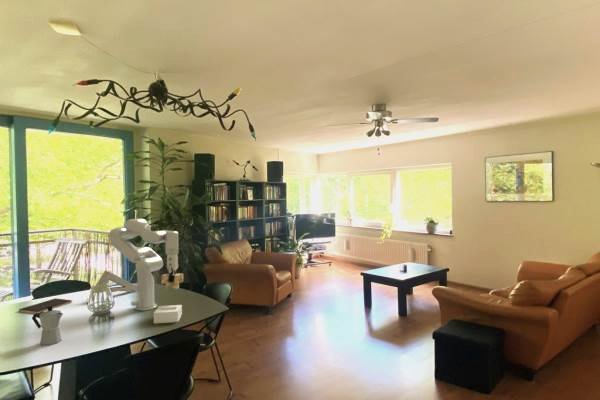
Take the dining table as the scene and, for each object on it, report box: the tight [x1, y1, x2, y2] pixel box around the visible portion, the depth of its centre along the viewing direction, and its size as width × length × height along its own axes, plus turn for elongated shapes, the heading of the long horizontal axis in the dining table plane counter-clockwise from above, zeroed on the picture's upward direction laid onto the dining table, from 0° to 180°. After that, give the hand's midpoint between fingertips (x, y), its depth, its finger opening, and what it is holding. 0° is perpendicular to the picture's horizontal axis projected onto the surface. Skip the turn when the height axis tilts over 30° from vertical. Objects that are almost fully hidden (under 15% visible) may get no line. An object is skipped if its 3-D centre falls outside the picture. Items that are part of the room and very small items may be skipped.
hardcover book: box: [18, 297, 73, 315], centre depth 226 cm, size 16×23×2 cm
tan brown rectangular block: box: [160, 273, 184, 290], centre depth 215 cm, size 12×5×8 cm, turn 99°
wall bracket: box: [86, 270, 138, 301], centre depth 249 cm, size 22×4×30 cm
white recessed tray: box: [153, 304, 183, 324], centre depth 202 cm, size 13×12×6 cm
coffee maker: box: [31, 305, 64, 347], centre depth 171 cm, size 15×9×18 cm, turn 92°
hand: (172, 280), depth 215 cm, fingers closed on tan brown rectangular block, 5 cm apart
